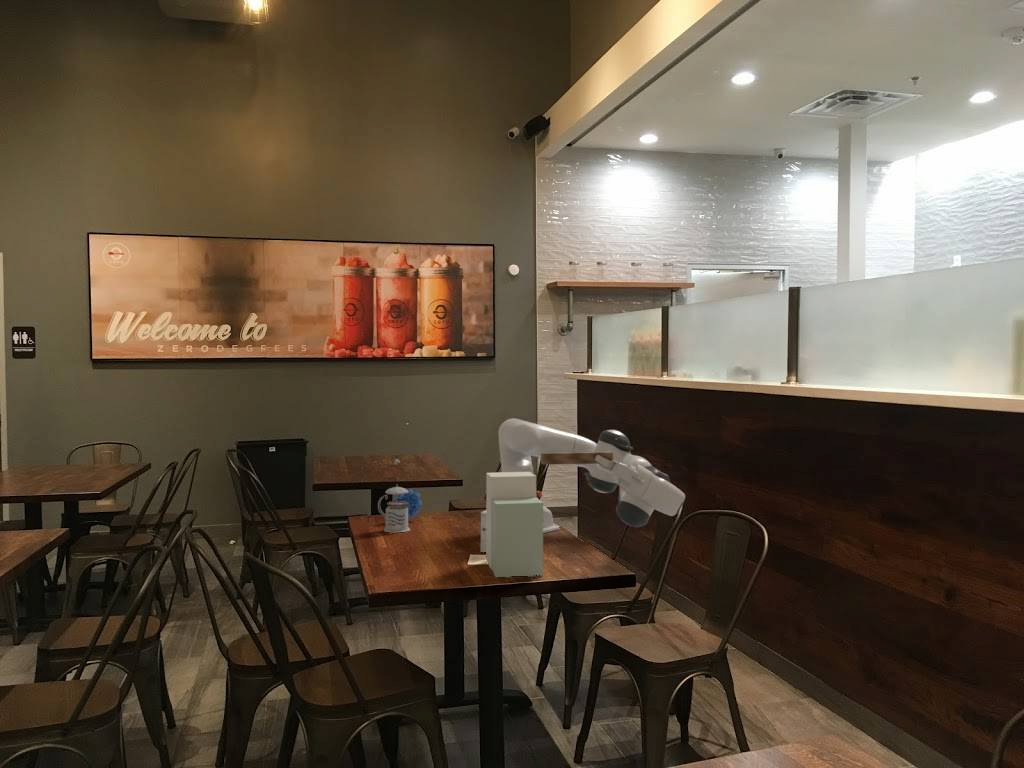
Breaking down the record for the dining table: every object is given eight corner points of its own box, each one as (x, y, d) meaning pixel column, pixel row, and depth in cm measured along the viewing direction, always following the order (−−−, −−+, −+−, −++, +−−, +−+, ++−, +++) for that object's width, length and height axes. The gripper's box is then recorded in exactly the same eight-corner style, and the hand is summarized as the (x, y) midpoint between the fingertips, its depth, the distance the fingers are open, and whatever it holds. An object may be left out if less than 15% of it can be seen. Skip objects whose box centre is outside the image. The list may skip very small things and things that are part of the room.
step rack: (529, 559, 229) (529, 471, 228) (543, 575, 210) (543, 480, 209) (486, 560, 226) (486, 472, 226) (495, 577, 208) (495, 481, 207)
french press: (406, 534, 264) (406, 461, 263) (373, 532, 266) (373, 460, 265) (414, 528, 273) (414, 458, 273) (383, 527, 275) (383, 457, 275)
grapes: (419, 518, 292) (419, 486, 291) (423, 521, 285) (423, 489, 285) (389, 520, 288) (388, 488, 288) (391, 523, 282) (391, 491, 281)
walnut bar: (609, 461, 219) (609, 451, 219) (612, 463, 216) (613, 452, 216) (540, 463, 215) (541, 452, 215) (543, 464, 213) (543, 453, 212)
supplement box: (479, 553, 236) (479, 512, 236) (488, 547, 243) (488, 507, 243) (502, 555, 234) (502, 513, 234) (510, 549, 241) (510, 509, 241)
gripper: (640, 495, 208) (598, 470, 206) (618, 484, 228) (578, 461, 226) (652, 474, 209) (609, 450, 206) (628, 465, 229) (589, 443, 227)
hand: (593, 456), depth 216 cm, fingers closed on walnut bar, 3 cm apart
